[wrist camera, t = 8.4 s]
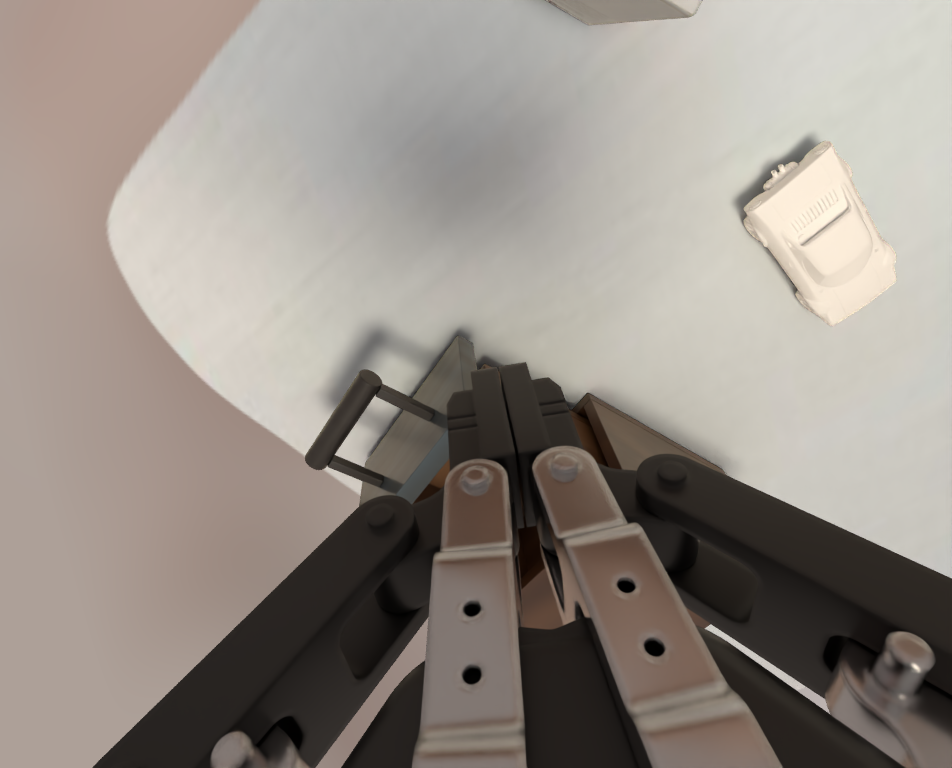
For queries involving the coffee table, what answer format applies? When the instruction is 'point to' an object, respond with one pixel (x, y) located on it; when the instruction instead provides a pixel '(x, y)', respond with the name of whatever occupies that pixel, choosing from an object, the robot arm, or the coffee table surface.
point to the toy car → (822, 235)
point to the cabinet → (622, 450)
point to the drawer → (419, 438)
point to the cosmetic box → (627, 10)
